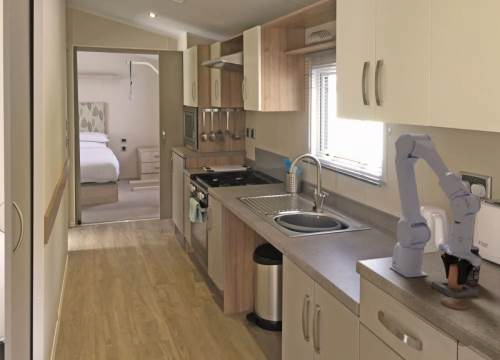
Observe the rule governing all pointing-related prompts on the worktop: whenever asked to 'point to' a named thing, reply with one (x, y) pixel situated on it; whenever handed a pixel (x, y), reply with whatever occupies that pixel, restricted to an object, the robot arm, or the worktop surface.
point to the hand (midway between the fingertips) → (455, 281)
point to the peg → (453, 278)
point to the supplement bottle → (474, 269)
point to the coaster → (454, 303)
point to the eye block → (465, 291)
